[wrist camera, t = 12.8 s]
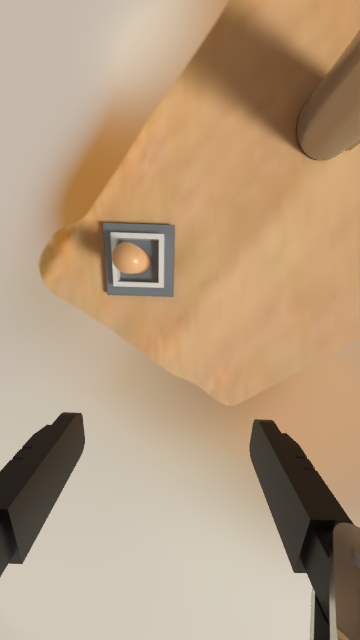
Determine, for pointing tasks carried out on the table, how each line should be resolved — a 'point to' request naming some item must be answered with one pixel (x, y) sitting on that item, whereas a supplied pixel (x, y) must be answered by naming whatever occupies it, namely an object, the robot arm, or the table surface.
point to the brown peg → (130, 258)
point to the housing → (156, 244)
